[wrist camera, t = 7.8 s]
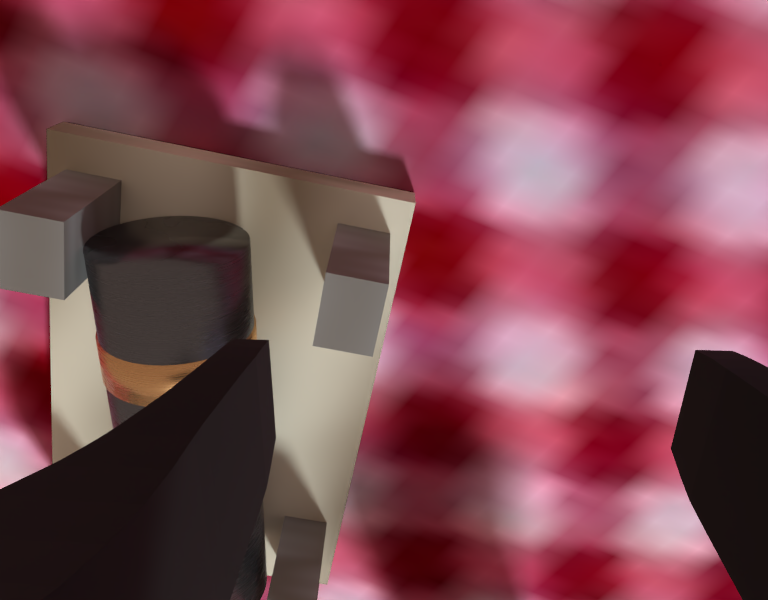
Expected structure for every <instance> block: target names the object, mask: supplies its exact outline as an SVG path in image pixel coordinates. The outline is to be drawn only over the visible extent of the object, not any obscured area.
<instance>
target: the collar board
mask: <svg viewBox="0 0 768 600" xmlns="http://www.w3.org/2000/svg"><path fill="white" fill-rule="evenodd" d="M414 208H415V193H413V192H408V191H403V190H398V189H393V188H388V187H383V186H378V185H374V184H369V183H364V182H359V181H354V180H349V179H344V178H339V177H334V176H329V175H324V174H319V173H314V172H309V171H304V170H299V169H295V168H290V167H285V166H280V165H275V164H270V163H265V162H260V161H255V160H250V159H245V158H240V157H235V156H230V155H225V154H220V153H215V152H211V151H206V150H201V149H196V148H191V147H186V146H181V145H176V144H171V143H166V142H161V141H156V140H151V139H146V138H141V137H136V136H132V135H127V134H122V133H117V132H112V131H107V130H102V129H97V128H92V127H87V126H82V125H77V124H72V123H67V122H62V123H59V124H57V125H55V126H52V127H50V128H48V129H47V180H46V181H44V182H43V183H41V184H39V185H37V186H36V187H34V188H32V189H30V190H29V191H27V192H25V193H23V194H22V195H20V196H18V197H16V198H15V199H13V200H11V201H9V202H8V203H6V204H4V205H2V206H1V207H0V289H6V290H11V291H17V292H22V293H28V294H33V295H38V296H44V297H49V298H50V354H51V410H52V464H54V463H55V462H57V461H59V460H61V459H63V458H65V457H66V456H68V455H70V454H72V453H74V452H75V451H77V450H79V449H81V448H82V447H84V446H86V445H88V444H89V443H91V442H93V441H94V440H96V439H98V438H99V437H101V436H103V435H104V434H106V433H108V432H109V431H111V430H112V429H113V427H112V421H111V415H110V409H109V403H108V397H107V391H106V387H105V385H104V383H103V379H102V374H101V368H100V362H99V356H98V350H97V344H96V338H95V336H96V325H95V319H94V314H93V308H92V302H91V296H90V290H89V284H88V278H87V272H86V266H85V260H84V254H83V247H84V245H85V243H86V242H87V241H88V239H89V238H91V237H92V236H93V235H95V234H97V233H98V232H100V231H102V230H105V229H107V228H110V227H112V226H115V225H118V224H122V223H126V222H130V221H134V220H140V219H146V218H153V217H164V216H198V217H208V218H214V219H219V220H224V221H227V222H230V223H233V224H235V225H238V226H239V227H241V228H243V229H244V230H245V231H246V232H247V233H248V234H249V236H250V244H251V265H252V285H253V305H254V315H255V318H256V328H257V340H269V347H270V361H271V374H272V388H273V402H274V416H275V430H276V441H275V446H274V452H273V458H272V463H271V469H270V474H269V479H268V484H267V489H266V492H265V495H264V498H263V507H264V527H265V548H266V568H267V575H270V576H272V579H271V583H270V588H269V593H268V598H267V600H317V596H318V588H319V583H320V584H327V583H328V579H329V574H330V570H331V566H332V561H333V557H334V553H335V548H336V544H337V540H338V535H339V531H340V527H341V523H342V518H343V514H344V510H345V505H346V501H347V497H348V492H349V488H350V484H351V479H352V475H353V471H354V466H355V462H356V458H357V453H358V449H359V445H360V441H361V436H362V432H363V428H364V423H365V419H366V415H367V410H368V406H369V402H370V397H371V393H372V389H373V384H374V380H375V376H376V372H377V367H378V363H379V359H380V354H381V350H382V346H383V341H384V337H385V333H386V328H387V324H388V320H389V315H390V311H391V307H392V302H393V298H394V294H395V290H396V285H397V281H398V277H399V272H400V268H401V264H402V259H403V255H404V251H405V246H406V242H407V238H408V233H409V229H410V225H411V221H412V216H413V212H414Z"/></svg>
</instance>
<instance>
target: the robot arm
mask: <svg viewBox="0 0 768 600" xmlns="http://www.w3.org/2000/svg"><path fill="white" fill-rule="evenodd" d="M275 441H276V430H275V416H274V402H273V388H272V374H271V361H270V347H269V340H254V339H233V340H231V341H230V342H229V343H227V344H226V345H225V346H223V347H222V348H221V349H220V350H218V351H217V352H216V353H215V354H213V355H212V356H211V357H210V358H208V359H207V360H206V361H205V362H203V363H202V364H201V365H200V366H199V367H197V368H196V369H195V370H194V371H192V372H191V373H190V374H188V375H187V376H186V377H185V378H183V379H182V380H181V381H179V382H178V383H177V384H176V385H174V386H173V387H172V388H171V389H169V390H168V391H167V392H165V393H164V394H163V395H161V396H160V397H158V398H157V399H156V400H154V401H153V402H151V403H150V404H148V405H147V406H146V407H144V408H143V409H141V410H140V411H138V412H137V413H136V414H134V415H133V416H131V417H130V418H128V419H127V420H126V421H124V422H123V423H121V424H120V425H118V426H117V427H115V428H114V429H112V430H111V431H109V432H108V433H106V434H104V435H103V436H101V437H99V438H98V439H96V440H94V441H93V442H91V443H89V444H88V445H86V446H84V447H82V448H81V449H79V450H77V451H75V452H74V453H72V454H70V455H68V456H66V457H65V458H63V459H61V460H59V461H57V462H55V463H54V464H52V465H50V466H48V467H46V468H44V469H41V470H39V471H37V472H35V473H33V474H31V475H29V476H27V477H25V478H23V479H21V480H19V481H16V482H14V483H12V484H10V485H8V486H6V487H4V488H2V489H0V600H230V599H231V596H232V593H233V590H234V587H235V584H236V581H237V578H238V575H239V572H240V569H241V566H242V563H243V560H244V557H245V554H246V551H247V548H248V545H249V542H250V539H251V535H252V532H253V529H254V526H255V523H256V520H257V517H258V514H259V511H260V508H261V505H262V502H263V498H264V495H265V492H266V489H267V484H268V479H269V474H270V469H271V463H272V458H273V452H274V446H275ZM671 450H672V453H673V456H674V459H675V462H676V465H677V468H678V470H679V473H680V476H681V479H682V482H683V484H684V487H685V490H686V492H687V495H688V497H689V500H690V502H691V504H692V506H693V508H694V510H695V512H696V514H697V516H698V518H699V519H700V521H701V523H702V525H703V527H704V529H705V531H706V533H707V535H708V536H709V538H710V540H711V542H712V544H713V546H714V548H715V550H716V551H717V553H718V555H719V557H720V559H721V561H722V562H723V564H724V566H725V568H726V570H727V572H728V573H729V575H730V577H731V579H732V581H733V583H734V585H735V586H736V588H737V590H738V592H739V594H740V596H741V597H742V599H743V600H768V367H766V366H764V365H762V364H760V363H758V362H756V361H754V360H752V359H750V358H748V357H746V356H743V355H741V354H738V353H736V352H734V351H711V350H695V354H694V358H693V362H692V366H691V370H690V374H689V378H688V382H687V386H686V390H685V394H684V398H683V402H682V406H681V410H680V414H679V418H678V422H677V426H676V430H675V434H674V438H673V442H672V446H671Z"/></svg>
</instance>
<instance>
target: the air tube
mask: <svg viewBox="0 0 768 600" xmlns="http://www.w3.org/2000/svg"><path fill="white" fill-rule="evenodd" d="M83 254H84V260H85V266H86V272H87V278H88V284H89V290H90V296H91V302H92V308H93V314H94V319H95V325H96V336H95V338H96V344H97V350H98V356H99V362H100V368H101V374H102V379H103V383H104V385H105V387H106V391H107V397H108V403H109V409H110V415H111V421H112V427H113V429H114V428H115V427H117V426H118V425H120V424H121V423H123V422H124V421H126V420H127V419H128V418H130V417H131V416H133V415H134V414H136V413H137V412H138V411H140V410H141V409H143V408H144V407H146V406H147V405H148V404H150V403H151V402H153V401H154V400H156V399H157V398H158V397H160V396H161V395H163V394H164V393H165V392H167V391H168V390H169V389H171V388H172V387H173V386H174V385H176V384H177V383H178V382H179V381H181V380H182V379H183V378H185V377H186V376H187V375H188V374H190V373H191V372H192V371H194V370H195V369H196V368H197V367H199V366H200V365H201V364H202V363H203V362H205V361H206V360H207V359H208V358H210V357H211V356H212V355H213V354H215V353H216V352H217V351H218V350H220V349H221V348H222V347H223V346H225V345H226V344H227V343H229V342H230V341H231V340H233V339H254V340H257V328H256V318H255V315H254V305H253V285H252V265H251V244H250V236H249V234H248V233H247V232H246V231H245V230H244V229H243V228H241V227H239V226H238V225H235V224H233V223H230V222H227V221H224V220H219V219H214V218H208V217H198V216H164V217H153V218H146V219H140V220H134V221H130V222H126V223H122V224H118V225H115V226H112V227H110V228H107V229H105V230H102V231H100V232H98V233H97V234H95V235H93V236H92V237H91V238H89V239H88V241H87V242H86V243H85V245H84V247H83ZM266 581H267V568H266V548H265V527H264V507H263V502H262V505H261V508H260V511H259V514H258V517H257V520H256V523H255V526H254V529H253V532H252V535H251V539H250V542H249V545H248V548H247V551H246V554H245V557H244V560H243V563H242V566H241V569H240V572H239V575H238V578H237V581H236V584H235V587H234V590H233V593H232V596H231V599H230V600H260V599H261V597H262V595H263V593H264V590H265V587H266Z"/></svg>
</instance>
